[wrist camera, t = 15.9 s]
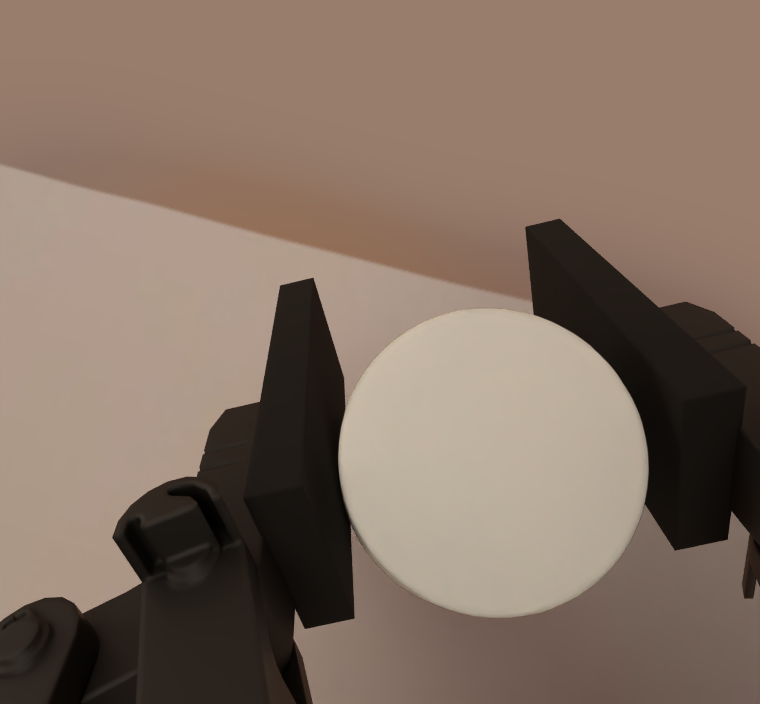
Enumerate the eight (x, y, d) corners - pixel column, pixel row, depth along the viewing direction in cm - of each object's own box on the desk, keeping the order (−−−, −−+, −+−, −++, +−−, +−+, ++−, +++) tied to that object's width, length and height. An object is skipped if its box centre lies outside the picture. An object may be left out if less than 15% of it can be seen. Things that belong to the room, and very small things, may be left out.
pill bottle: (494, 608, 15) (560, 750, 7) (341, 501, 16) (235, 509, 8) (588, 448, 15) (754, 397, 7) (435, 355, 16) (430, 219, 8)
